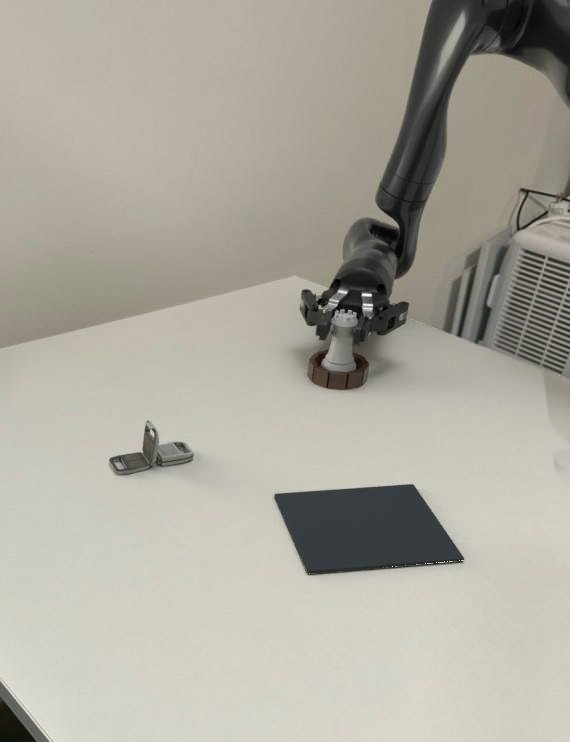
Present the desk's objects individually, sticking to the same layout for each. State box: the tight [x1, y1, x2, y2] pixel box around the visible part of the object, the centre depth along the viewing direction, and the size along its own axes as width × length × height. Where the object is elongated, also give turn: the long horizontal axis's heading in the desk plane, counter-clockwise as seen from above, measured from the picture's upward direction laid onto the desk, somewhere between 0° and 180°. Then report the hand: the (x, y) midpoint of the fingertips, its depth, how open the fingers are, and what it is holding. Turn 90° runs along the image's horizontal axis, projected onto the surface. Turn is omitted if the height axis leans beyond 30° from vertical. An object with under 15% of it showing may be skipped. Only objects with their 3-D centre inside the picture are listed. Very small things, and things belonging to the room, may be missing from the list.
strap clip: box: [108, 420, 195, 474], centre depth 84 cm, size 8×3×4 cm, turn 111°
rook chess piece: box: [321, 310, 358, 372], centre depth 99 cm, size 4×4×8 cm
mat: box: [273, 483, 465, 575], centre depth 76 cm, size 14×12×1 cm
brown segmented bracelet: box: [307, 349, 370, 391], centre depth 101 cm, size 7×7×2 cm
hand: (340, 334), depth 95 cm, fingers closed on rook chess piece, 3 cm apart
